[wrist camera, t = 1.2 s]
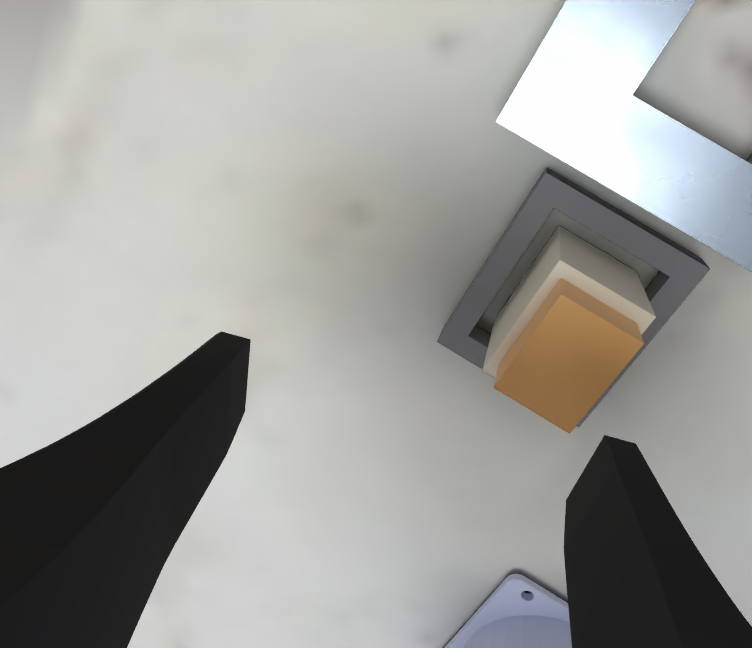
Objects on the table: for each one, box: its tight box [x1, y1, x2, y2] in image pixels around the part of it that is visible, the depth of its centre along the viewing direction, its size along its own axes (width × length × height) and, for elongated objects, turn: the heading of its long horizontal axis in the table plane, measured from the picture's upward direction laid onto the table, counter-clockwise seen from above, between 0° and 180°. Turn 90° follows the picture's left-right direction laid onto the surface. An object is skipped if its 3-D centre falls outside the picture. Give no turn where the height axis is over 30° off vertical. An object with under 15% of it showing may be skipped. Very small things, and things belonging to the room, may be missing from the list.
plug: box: [483, 226, 656, 434], centre depth 19 cm, size 3×4×6 cm
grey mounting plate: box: [437, 168, 710, 427], centre depth 21 cm, size 6×7×1 cm
